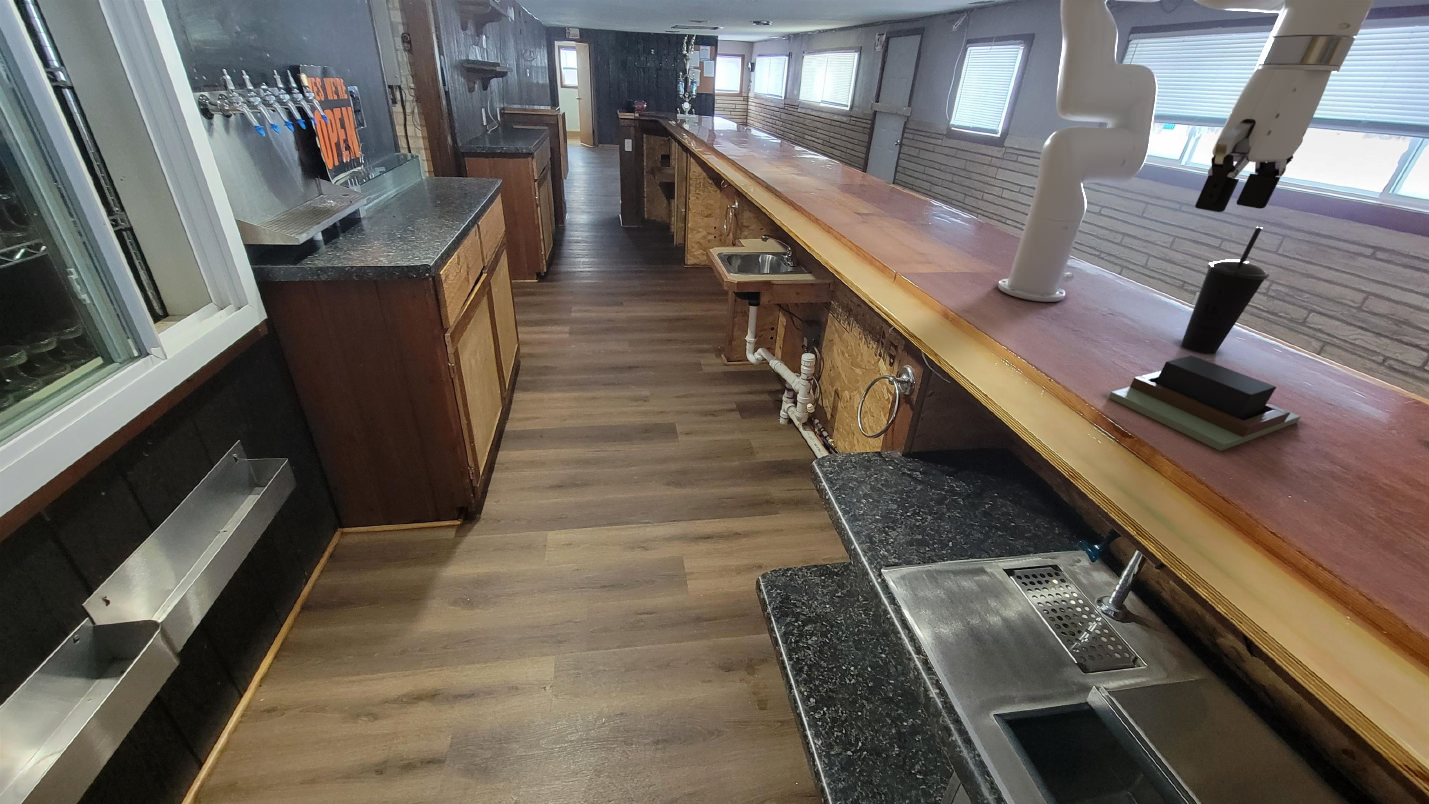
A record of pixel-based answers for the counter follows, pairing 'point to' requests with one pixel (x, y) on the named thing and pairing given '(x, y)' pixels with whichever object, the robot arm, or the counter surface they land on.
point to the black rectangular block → (1216, 386)
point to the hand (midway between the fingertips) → (1229, 208)
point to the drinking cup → (1222, 300)
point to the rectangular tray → (1198, 414)
